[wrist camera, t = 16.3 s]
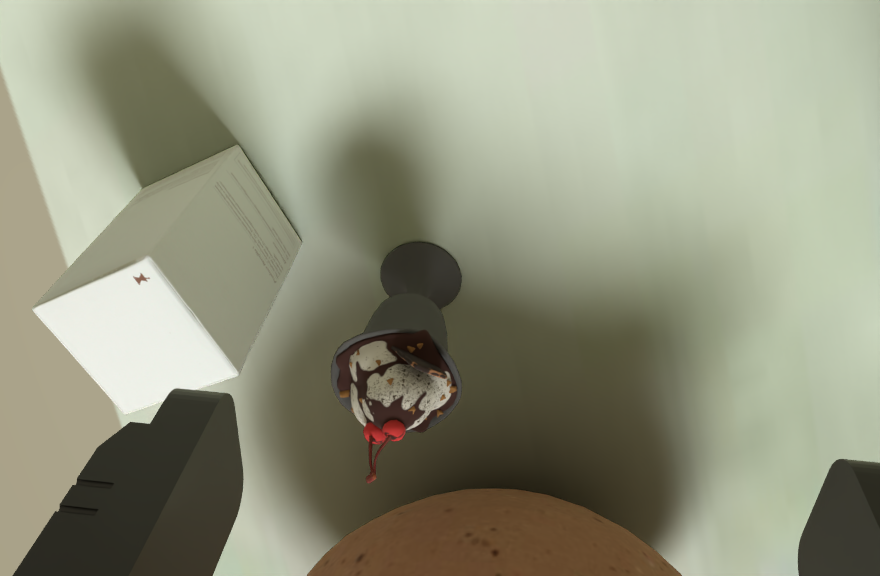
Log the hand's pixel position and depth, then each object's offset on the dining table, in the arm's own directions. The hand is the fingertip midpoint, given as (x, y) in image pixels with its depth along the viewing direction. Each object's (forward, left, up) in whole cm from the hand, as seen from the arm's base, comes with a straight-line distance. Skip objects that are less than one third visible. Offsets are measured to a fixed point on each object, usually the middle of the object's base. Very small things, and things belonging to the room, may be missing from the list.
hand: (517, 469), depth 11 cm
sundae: (+5, +18, -33) cm, 38 cm away
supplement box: (+17, +15, -33) cm, 40 cm away
